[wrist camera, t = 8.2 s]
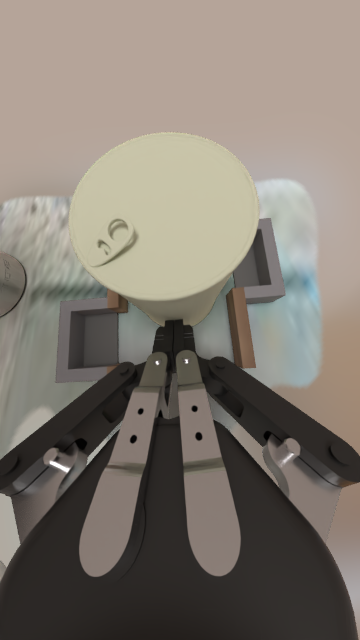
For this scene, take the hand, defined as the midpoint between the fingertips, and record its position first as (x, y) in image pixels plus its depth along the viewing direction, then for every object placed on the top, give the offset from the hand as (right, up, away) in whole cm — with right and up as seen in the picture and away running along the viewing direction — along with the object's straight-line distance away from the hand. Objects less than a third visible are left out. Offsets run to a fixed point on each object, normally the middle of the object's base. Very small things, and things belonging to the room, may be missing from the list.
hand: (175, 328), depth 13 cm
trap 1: (+8, +7, +6) cm, 12 cm away
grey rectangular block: (0, +4, +6) cm, 7 cm away
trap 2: (-9, -2, +5) cm, 10 cm away
